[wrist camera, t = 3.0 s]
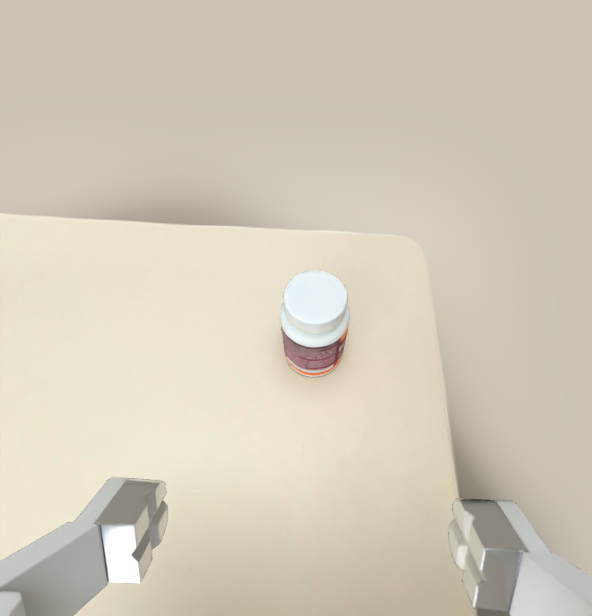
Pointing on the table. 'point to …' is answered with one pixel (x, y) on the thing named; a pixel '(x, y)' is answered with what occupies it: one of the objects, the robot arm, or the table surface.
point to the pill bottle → (314, 322)
